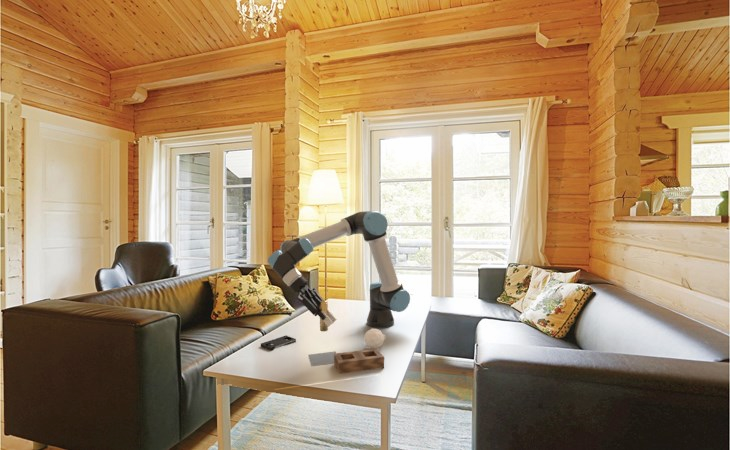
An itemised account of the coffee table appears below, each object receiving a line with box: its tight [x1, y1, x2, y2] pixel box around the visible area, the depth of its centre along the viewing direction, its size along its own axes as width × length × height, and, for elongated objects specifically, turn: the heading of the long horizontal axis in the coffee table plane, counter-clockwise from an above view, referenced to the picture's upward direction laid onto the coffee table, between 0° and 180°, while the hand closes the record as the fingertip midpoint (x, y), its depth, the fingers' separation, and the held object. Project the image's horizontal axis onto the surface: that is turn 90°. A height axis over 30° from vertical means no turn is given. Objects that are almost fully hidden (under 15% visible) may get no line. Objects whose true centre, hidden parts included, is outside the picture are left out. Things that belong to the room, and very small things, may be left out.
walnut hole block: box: [333, 348, 385, 375], centre depth 134 cm, size 18×9×4 cm, turn 106°
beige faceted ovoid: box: [363, 327, 387, 349], centre depth 154 cm, size 9×9×12 cm
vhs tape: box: [260, 335, 297, 351], centre depth 159 cm, size 14×8×2 cm, turn 140°
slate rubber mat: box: [307, 351, 337, 367], centre depth 141 cm, size 12×12×1 cm
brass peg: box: [319, 300, 329, 332], centre depth 141 cm, size 3×3×12 cm
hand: (332, 323), depth 140 cm, fingers closed on brass peg, 3 cm apart
